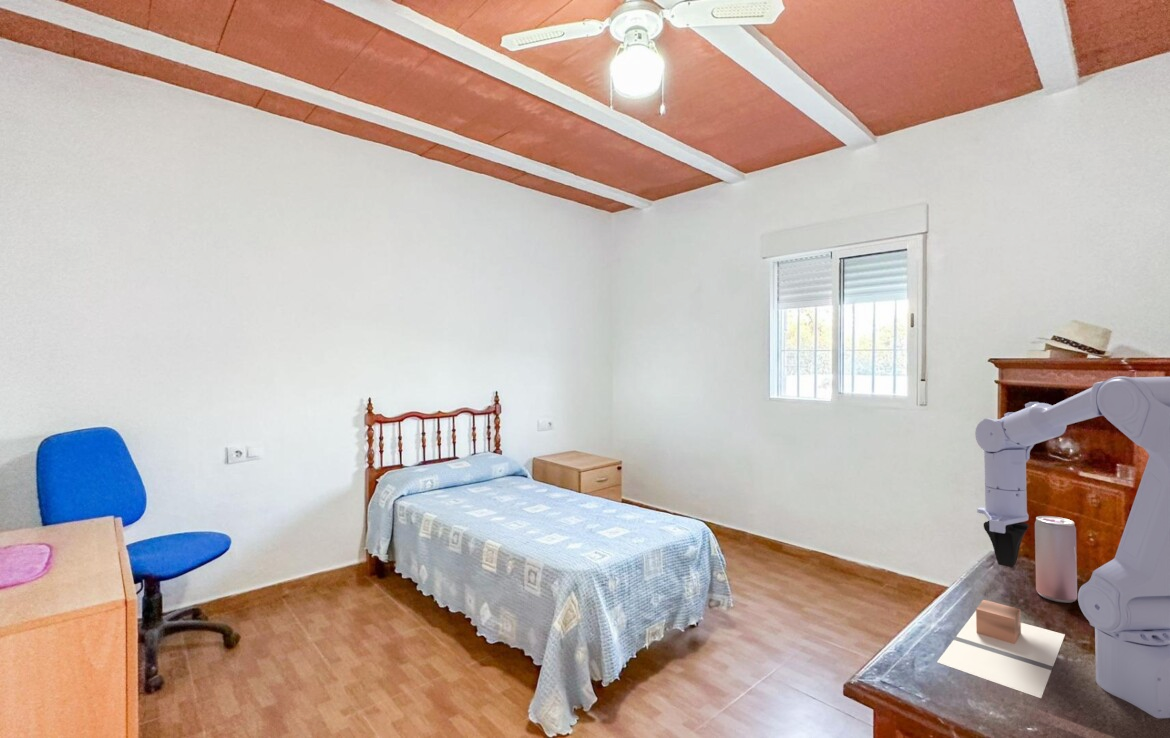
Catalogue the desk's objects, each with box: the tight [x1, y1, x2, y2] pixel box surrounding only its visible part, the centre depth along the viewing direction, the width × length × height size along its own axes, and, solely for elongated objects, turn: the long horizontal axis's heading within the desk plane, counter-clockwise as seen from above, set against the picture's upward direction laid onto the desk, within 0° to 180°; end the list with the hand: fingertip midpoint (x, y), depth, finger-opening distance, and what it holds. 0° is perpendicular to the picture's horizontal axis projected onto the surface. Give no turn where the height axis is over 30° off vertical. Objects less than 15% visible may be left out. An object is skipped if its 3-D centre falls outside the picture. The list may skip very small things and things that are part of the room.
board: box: [936, 610, 1066, 699], centre depth 83 cm, size 24×12×1 cm, turn 132°
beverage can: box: [1034, 515, 1078, 604], centre depth 102 cm, size 6×6×15 cm
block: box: [975, 599, 1022, 644], centre depth 87 cm, size 5×5×4 cm
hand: (1006, 564), depth 92 cm, fingers closed
